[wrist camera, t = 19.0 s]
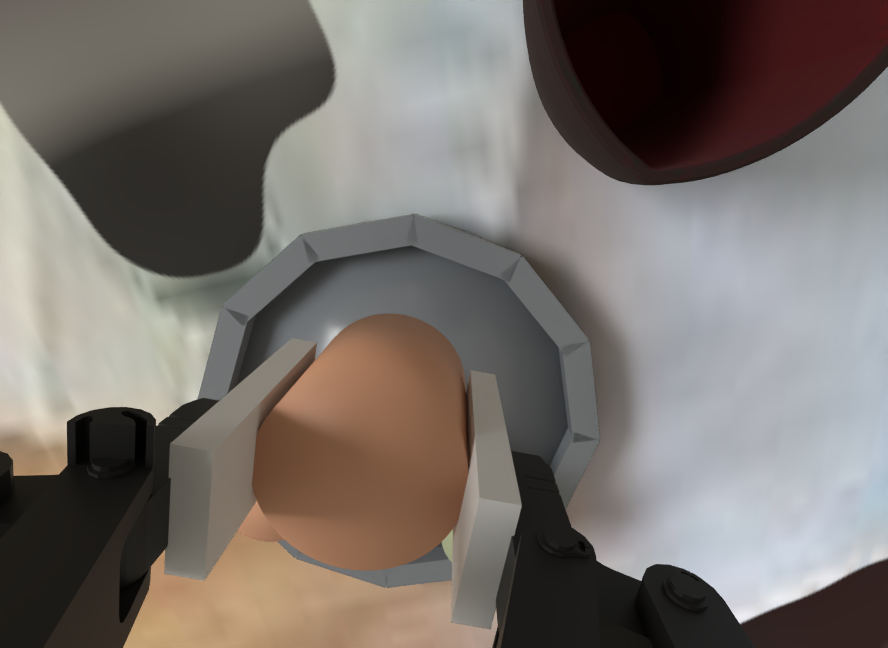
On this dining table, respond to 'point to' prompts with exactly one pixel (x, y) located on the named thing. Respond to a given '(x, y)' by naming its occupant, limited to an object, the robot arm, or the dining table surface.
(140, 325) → the dining table surface
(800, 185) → the dining table surface
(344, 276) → the groove tray
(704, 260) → the dining table surface
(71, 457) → the robot arm
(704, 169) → the mug
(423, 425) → the terracotta bead
